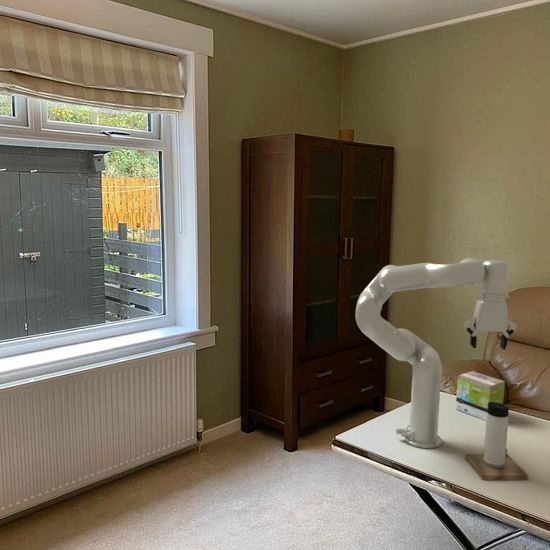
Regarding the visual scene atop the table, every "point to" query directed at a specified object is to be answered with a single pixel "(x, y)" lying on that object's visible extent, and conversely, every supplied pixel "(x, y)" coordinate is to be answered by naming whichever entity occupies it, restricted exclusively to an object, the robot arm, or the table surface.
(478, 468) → the walnut board
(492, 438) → the travel mug
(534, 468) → the table surface
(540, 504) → the table surface
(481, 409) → the tea box
